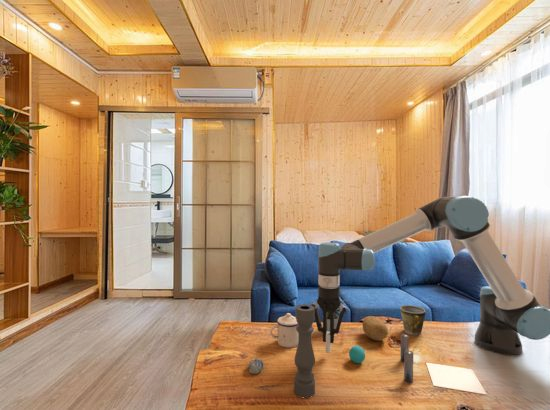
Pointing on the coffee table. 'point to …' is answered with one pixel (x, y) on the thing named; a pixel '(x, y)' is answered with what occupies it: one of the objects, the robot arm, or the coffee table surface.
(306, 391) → the candle holder
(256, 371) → the decorative stone
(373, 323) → the potato
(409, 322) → the ceramic cup
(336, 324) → the house plant
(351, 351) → the ball
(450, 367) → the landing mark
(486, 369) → the coffee table surface
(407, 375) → the post
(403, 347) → the post
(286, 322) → the teacup with lid
